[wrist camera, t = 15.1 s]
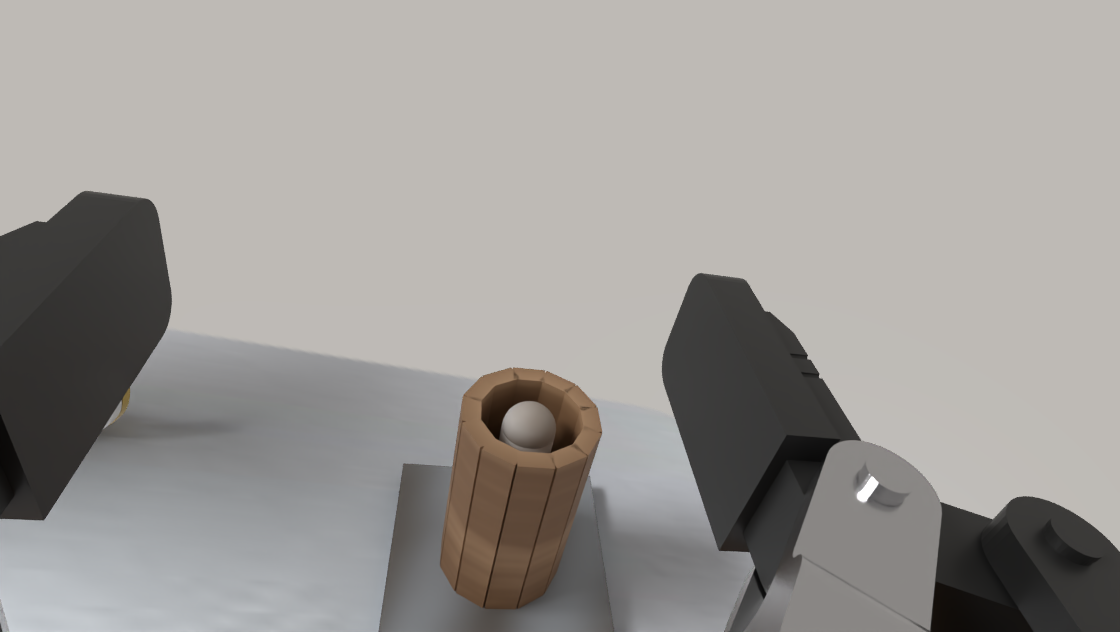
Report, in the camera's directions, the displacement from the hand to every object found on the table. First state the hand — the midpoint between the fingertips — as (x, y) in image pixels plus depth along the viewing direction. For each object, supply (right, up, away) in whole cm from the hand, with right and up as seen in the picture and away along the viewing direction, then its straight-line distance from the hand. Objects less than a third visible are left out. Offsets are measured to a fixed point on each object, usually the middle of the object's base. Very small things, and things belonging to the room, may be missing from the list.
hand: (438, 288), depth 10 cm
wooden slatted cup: (-1, -13, +23) cm, 27 cm away
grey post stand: (-1, -13, +24) cm, 27 cm away
